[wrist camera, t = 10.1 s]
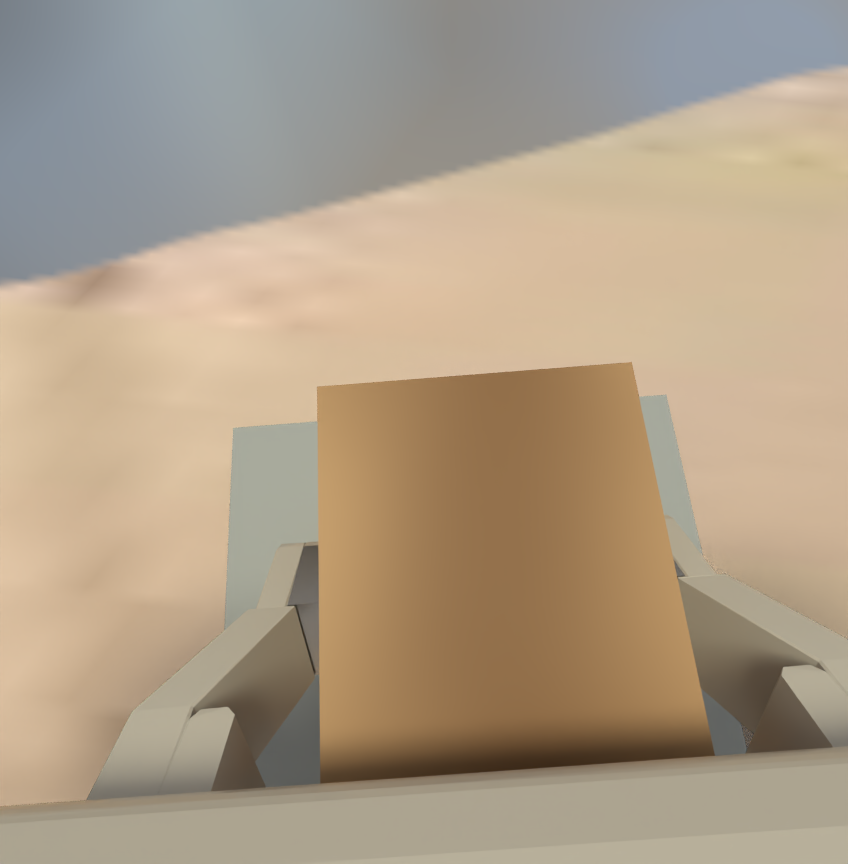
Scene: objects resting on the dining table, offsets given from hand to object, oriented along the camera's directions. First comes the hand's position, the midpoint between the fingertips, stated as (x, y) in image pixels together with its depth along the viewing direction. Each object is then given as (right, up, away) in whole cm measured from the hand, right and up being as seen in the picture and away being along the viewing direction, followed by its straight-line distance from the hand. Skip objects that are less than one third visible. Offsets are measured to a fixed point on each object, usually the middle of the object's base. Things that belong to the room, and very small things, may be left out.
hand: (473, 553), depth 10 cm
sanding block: (0, -2, +4) cm, 4 cm away
